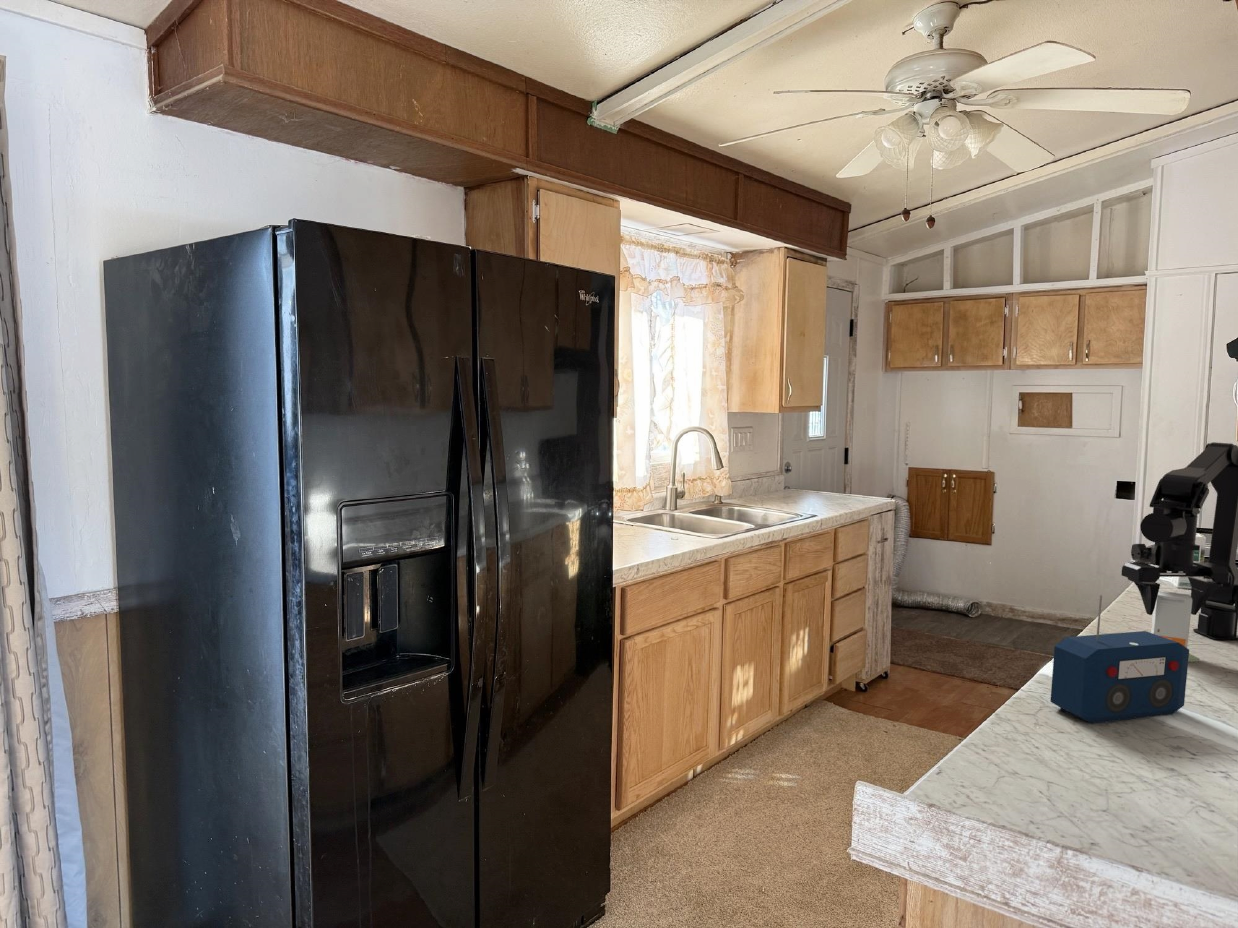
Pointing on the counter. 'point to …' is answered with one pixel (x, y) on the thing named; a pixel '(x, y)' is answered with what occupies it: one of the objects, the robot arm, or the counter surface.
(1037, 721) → the counter surface
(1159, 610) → the skincare box
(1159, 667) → the radio
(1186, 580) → the syrup box
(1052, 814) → the counter surface
